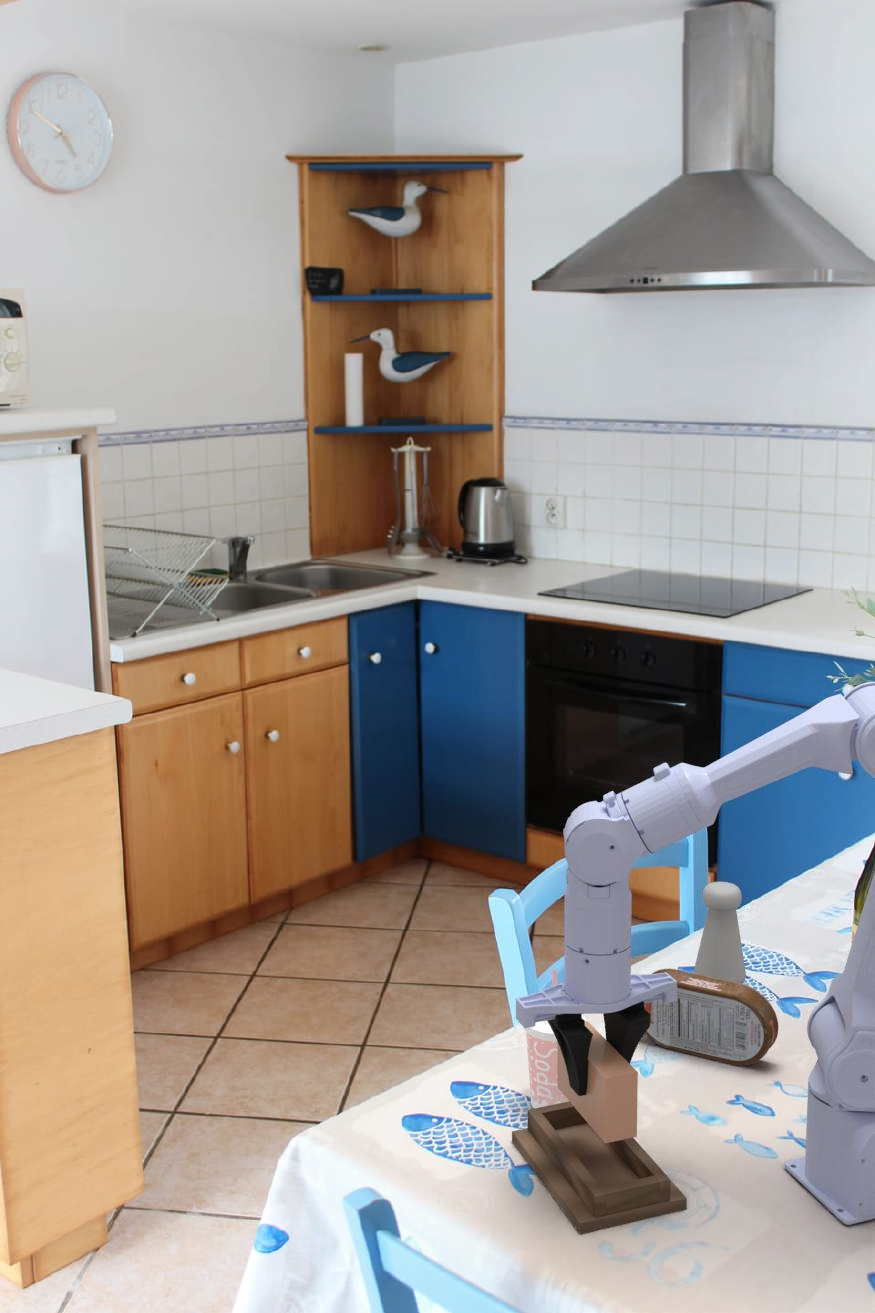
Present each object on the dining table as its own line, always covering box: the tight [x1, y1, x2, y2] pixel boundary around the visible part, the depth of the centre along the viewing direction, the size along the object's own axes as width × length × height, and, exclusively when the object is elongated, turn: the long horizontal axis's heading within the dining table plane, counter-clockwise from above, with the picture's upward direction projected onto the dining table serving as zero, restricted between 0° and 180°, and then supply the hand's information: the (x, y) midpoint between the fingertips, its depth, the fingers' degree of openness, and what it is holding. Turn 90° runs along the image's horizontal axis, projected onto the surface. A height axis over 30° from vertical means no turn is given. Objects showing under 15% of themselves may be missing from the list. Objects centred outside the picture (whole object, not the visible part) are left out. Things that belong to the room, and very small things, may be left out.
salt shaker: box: [693, 881, 747, 984], centre depth 156 cm, size 6×6×13 cm
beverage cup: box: [523, 969, 587, 1109], centre depth 132 cm, size 6×6×14 cm
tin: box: [644, 968, 779, 1067], centre depth 142 cm, size 15×3×8 cm, turn 60°
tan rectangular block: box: [557, 1020, 639, 1143], centre depth 120 cm, size 10×3×6 cm, turn 19°
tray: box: [511, 1101, 688, 1235], centre depth 121 cm, size 15×10×3 cm, turn 19°
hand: (596, 1086), depth 120 cm, fingers closed on tan rectangular block, 3 cm apart
